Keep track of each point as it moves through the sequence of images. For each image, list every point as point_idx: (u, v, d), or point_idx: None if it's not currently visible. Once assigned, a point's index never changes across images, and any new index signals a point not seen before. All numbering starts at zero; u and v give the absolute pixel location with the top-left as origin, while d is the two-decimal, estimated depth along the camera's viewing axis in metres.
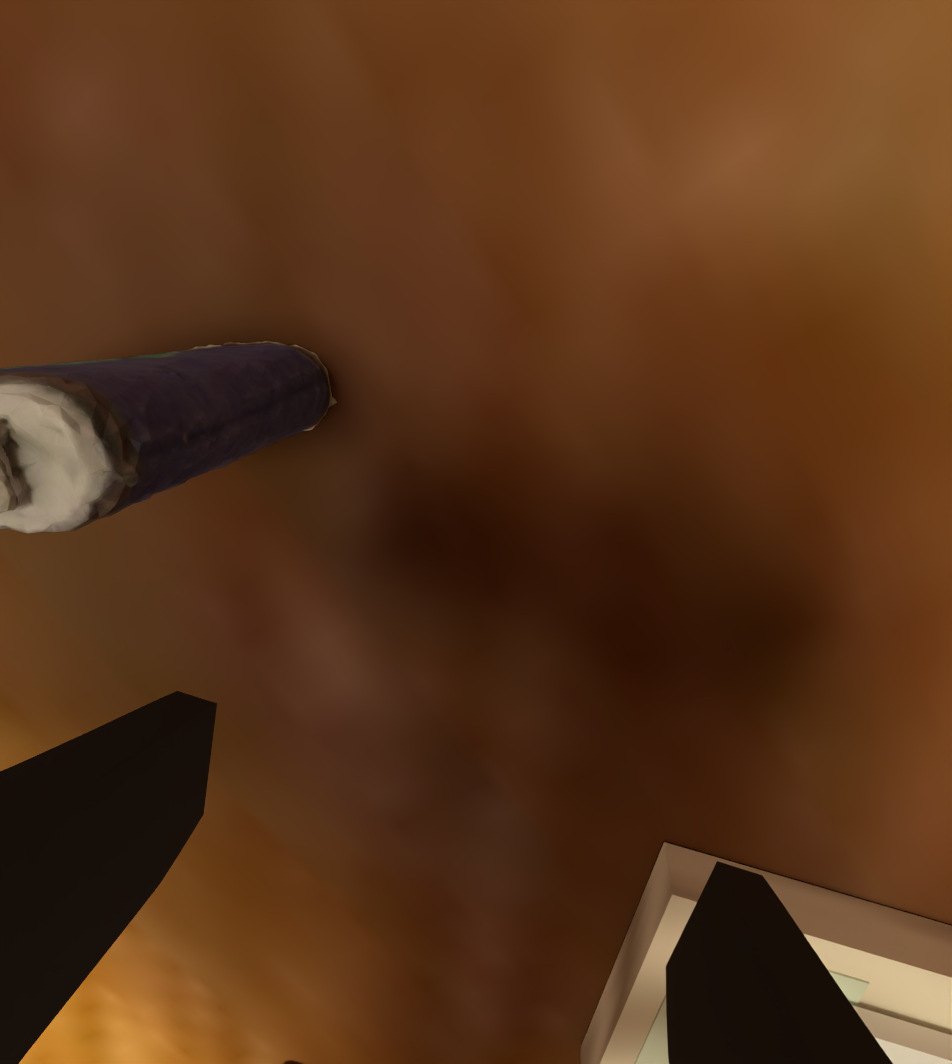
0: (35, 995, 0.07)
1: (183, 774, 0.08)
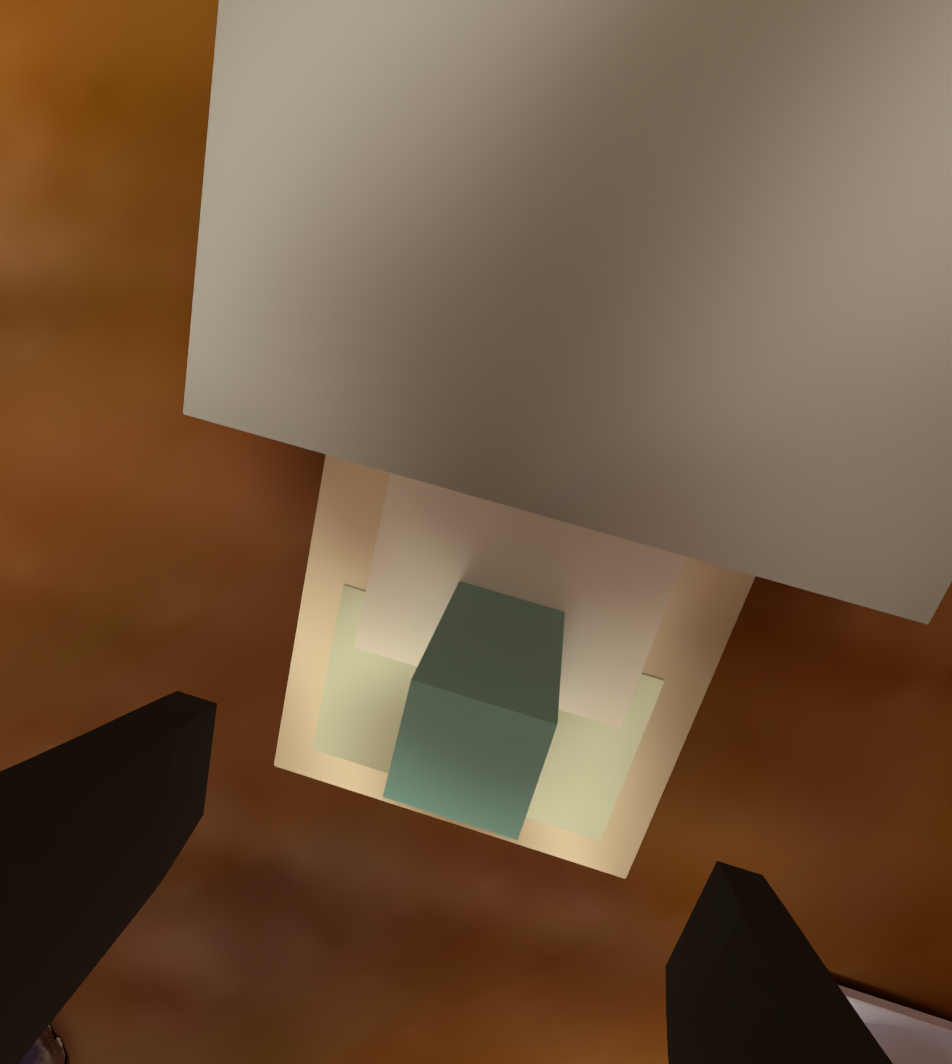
0: (35, 995, 0.07)
1: (183, 774, 0.08)
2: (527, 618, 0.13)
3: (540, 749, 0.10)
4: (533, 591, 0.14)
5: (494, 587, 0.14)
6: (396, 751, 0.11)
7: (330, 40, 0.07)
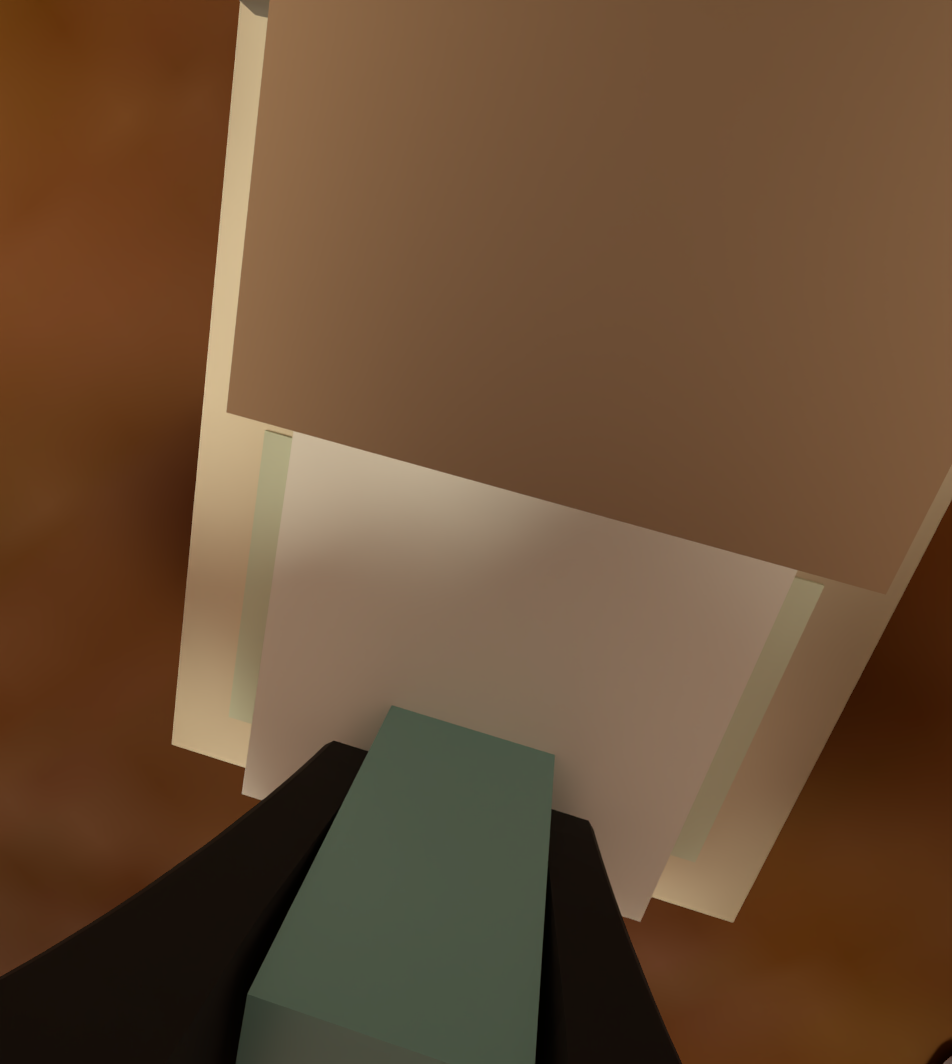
0: None
1: None
2: (494, 778, 0.08)
3: None
4: (505, 723, 0.09)
5: (445, 716, 0.09)
6: None
7: None
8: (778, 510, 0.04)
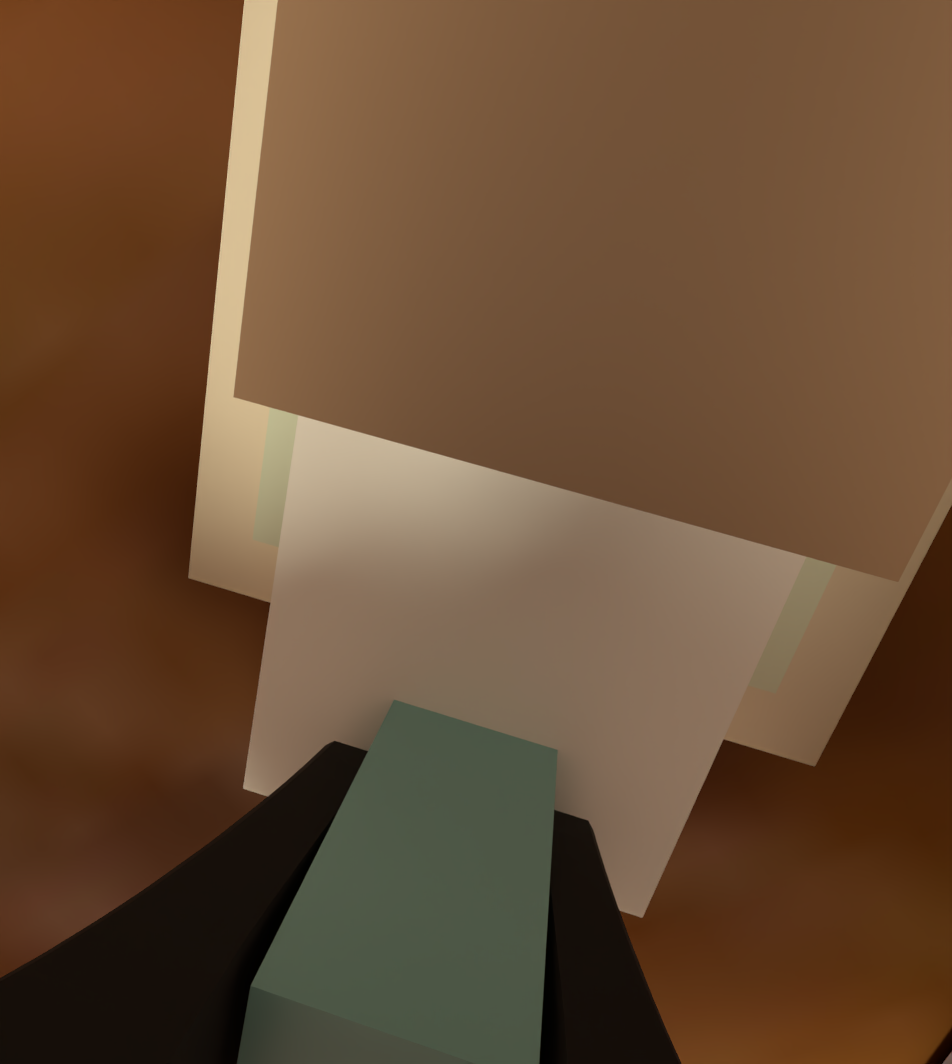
0: None
1: None
2: (496, 773, 0.08)
3: None
4: (508, 718, 0.09)
5: (448, 711, 0.09)
6: None
7: None
8: (790, 497, 0.04)
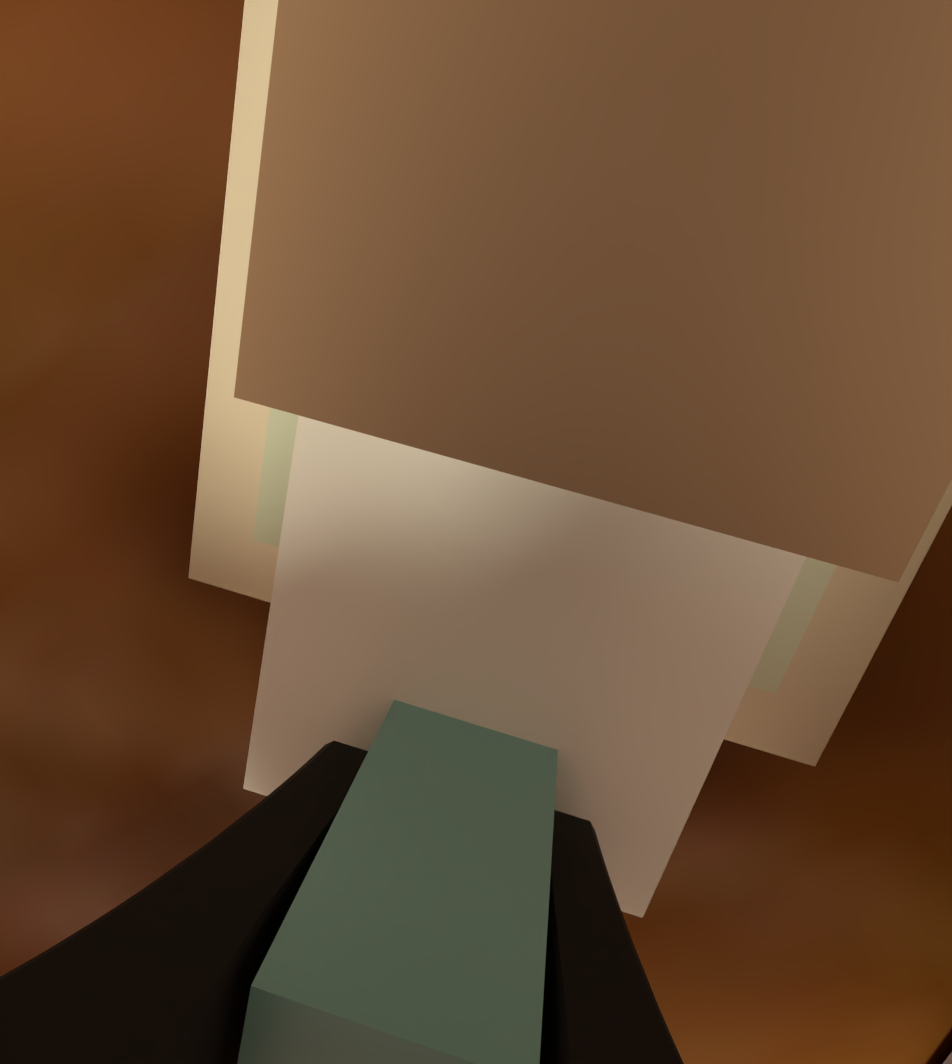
0: None
1: None
2: (497, 773, 0.08)
3: None
4: (508, 718, 0.09)
5: (448, 711, 0.09)
6: None
7: None
8: (791, 497, 0.04)
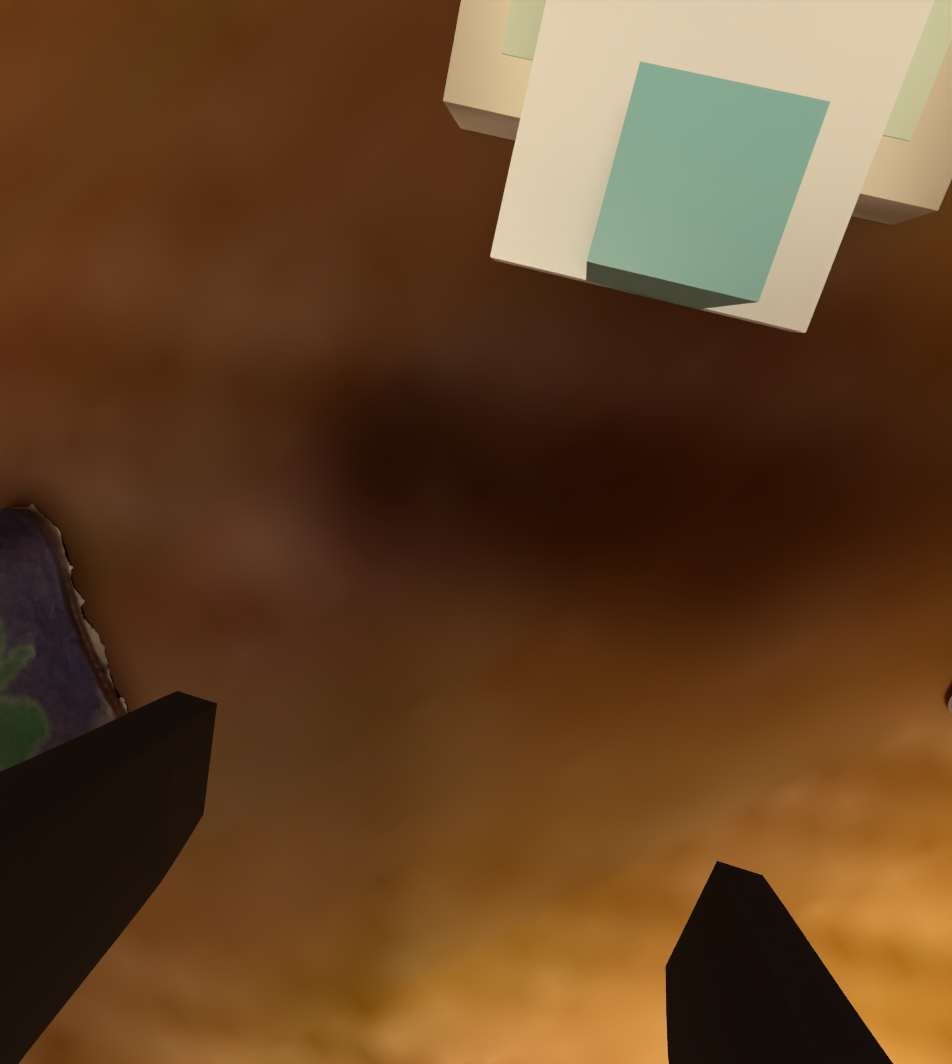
0: (35, 995, 0.07)
1: (183, 774, 0.08)
2: None
3: (804, 144, 0.08)
4: None
5: None
6: (610, 184, 0.09)
7: None
8: None
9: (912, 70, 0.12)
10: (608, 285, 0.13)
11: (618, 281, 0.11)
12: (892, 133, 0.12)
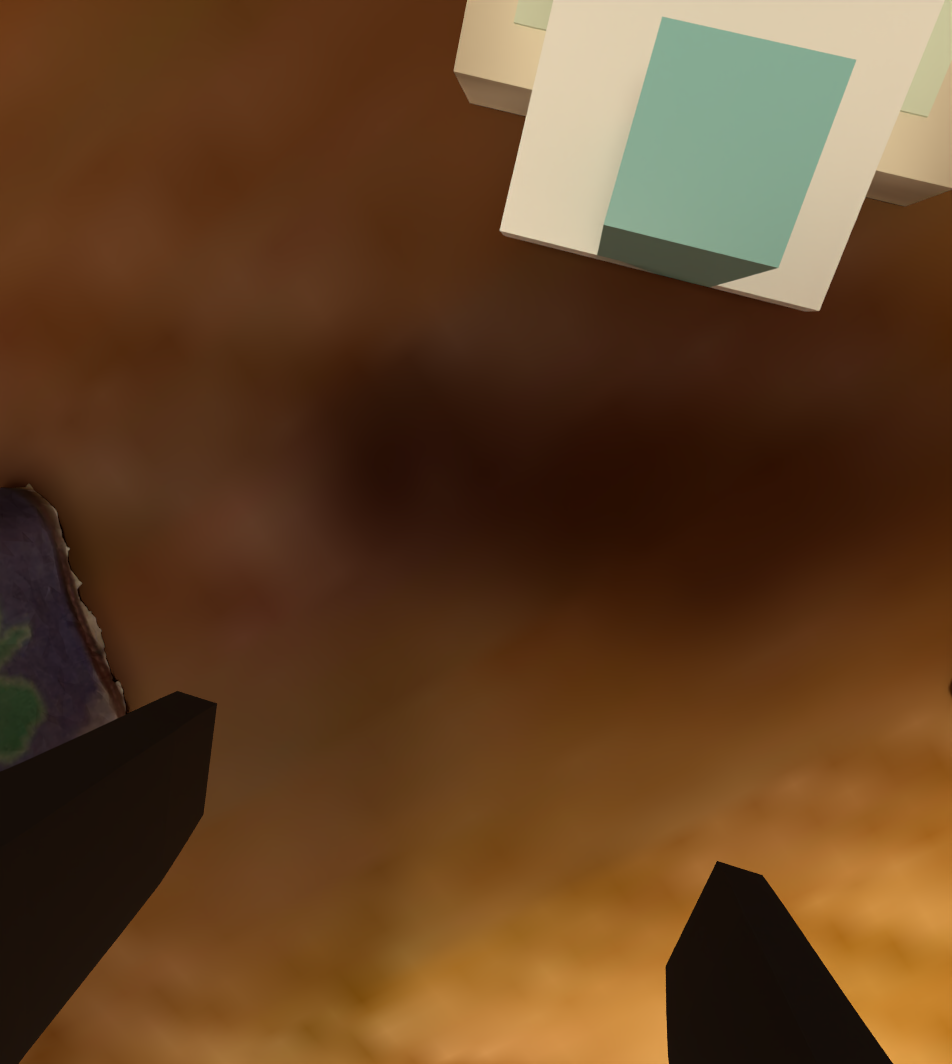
0: (35, 995, 0.07)
1: (183, 774, 0.08)
2: None
3: (829, 104, 0.08)
4: None
5: None
6: (629, 145, 0.08)
7: None
8: None
9: (931, 44, 0.12)
10: (619, 260, 0.13)
11: (631, 253, 0.11)
12: (910, 108, 0.12)
